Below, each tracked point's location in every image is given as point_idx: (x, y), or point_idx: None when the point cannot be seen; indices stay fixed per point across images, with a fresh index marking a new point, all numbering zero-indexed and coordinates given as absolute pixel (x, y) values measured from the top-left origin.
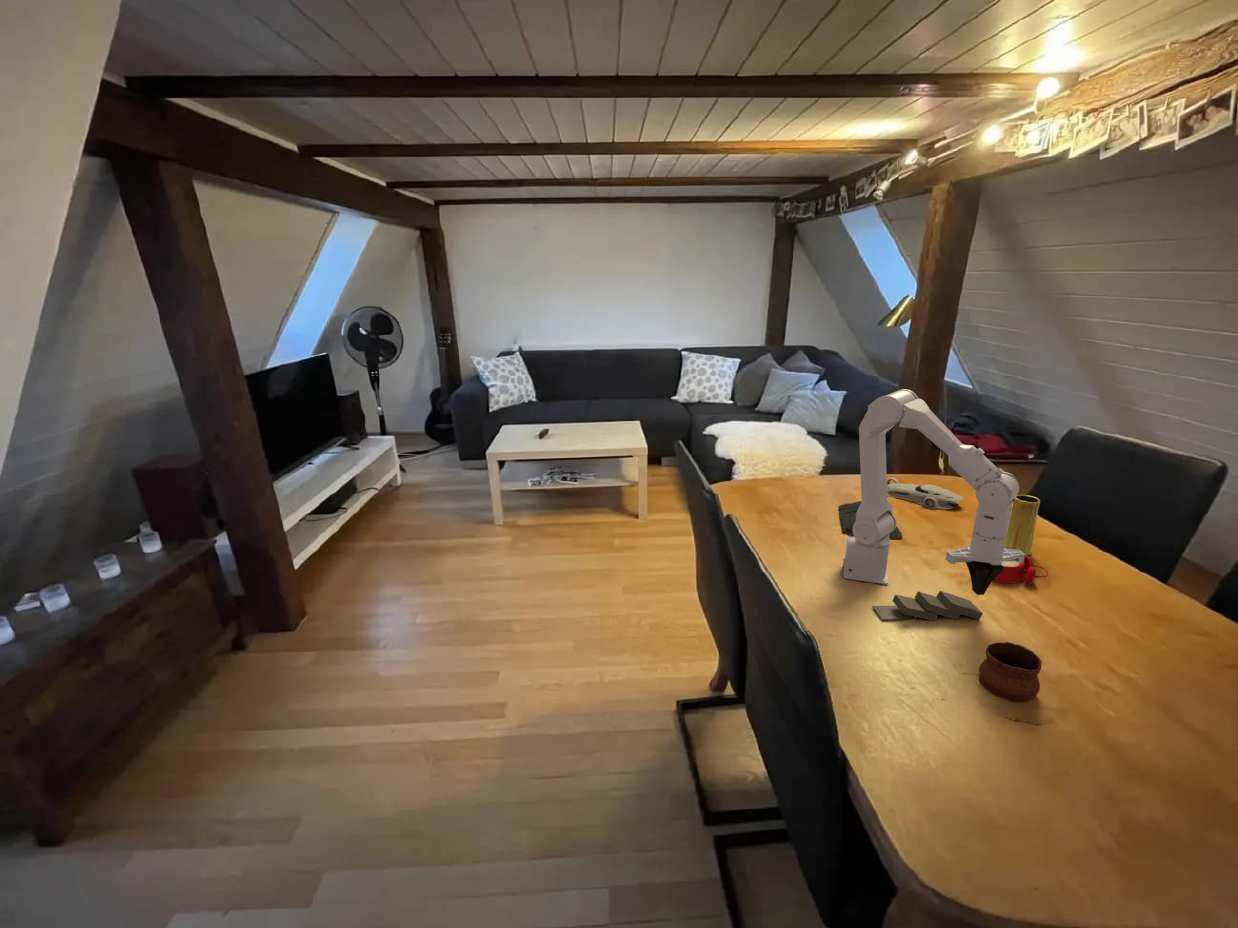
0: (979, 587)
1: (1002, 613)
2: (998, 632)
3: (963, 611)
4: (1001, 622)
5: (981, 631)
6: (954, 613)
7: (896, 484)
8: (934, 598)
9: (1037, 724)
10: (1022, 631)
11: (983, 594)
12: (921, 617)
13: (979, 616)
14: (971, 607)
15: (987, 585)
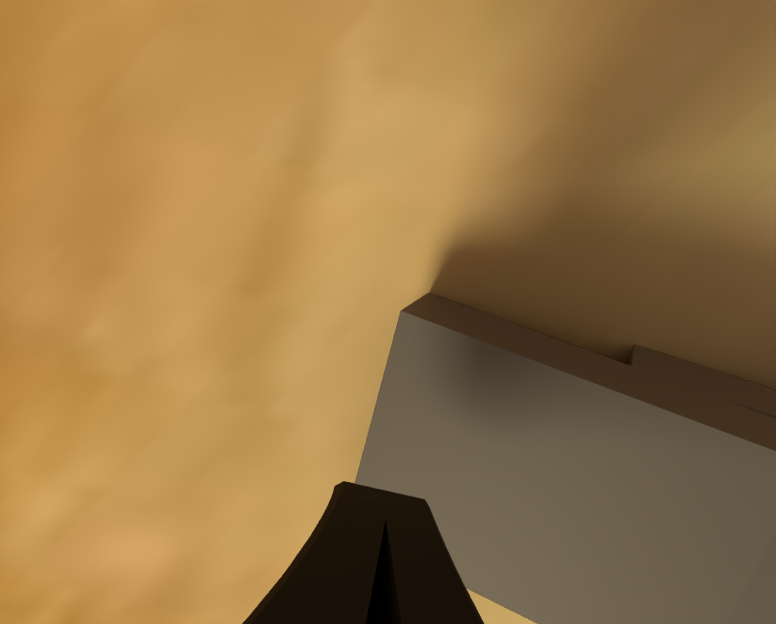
0: (460, 578)
1: (131, 321)
2: (416, 57)
3: (617, 371)
4: (250, 200)
5: (570, 119)
6: (698, 382)
7: None
8: (770, 612)
9: None
10: (158, 6)
11: (347, 484)
12: None
13: (430, 306)
14: (479, 404)
15: (321, 577)
